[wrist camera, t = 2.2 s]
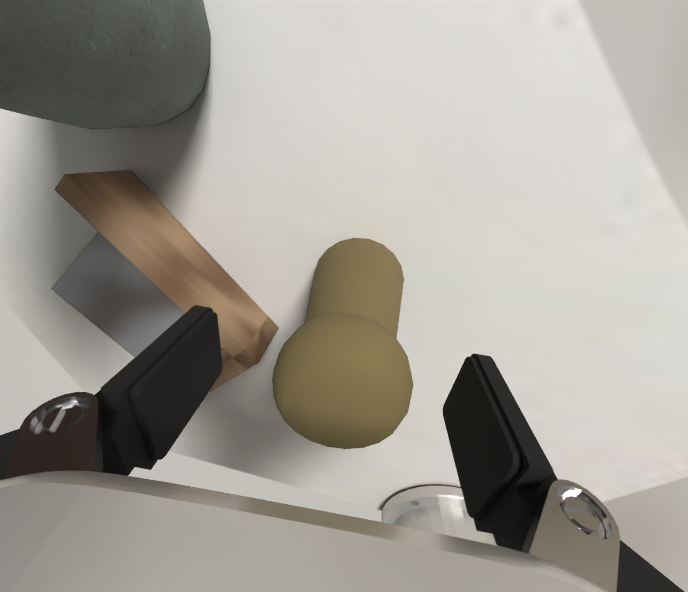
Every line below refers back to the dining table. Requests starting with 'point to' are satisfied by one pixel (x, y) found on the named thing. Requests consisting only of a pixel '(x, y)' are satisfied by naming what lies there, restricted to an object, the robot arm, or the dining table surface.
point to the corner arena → (152, 273)
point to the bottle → (103, 60)
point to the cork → (347, 351)
